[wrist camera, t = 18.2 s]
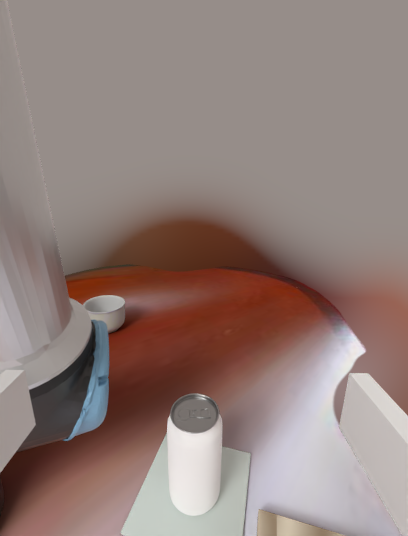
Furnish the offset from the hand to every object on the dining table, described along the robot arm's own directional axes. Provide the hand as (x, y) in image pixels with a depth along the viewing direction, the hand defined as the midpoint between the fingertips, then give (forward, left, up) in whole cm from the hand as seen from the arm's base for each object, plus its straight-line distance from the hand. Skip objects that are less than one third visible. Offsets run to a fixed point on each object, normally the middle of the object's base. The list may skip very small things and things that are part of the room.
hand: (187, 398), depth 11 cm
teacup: (-41, +47, -28) cm, 68 cm away
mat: (-4, +15, -28) cm, 32 cm away
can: (-4, +15, -28) cm, 32 cm away
